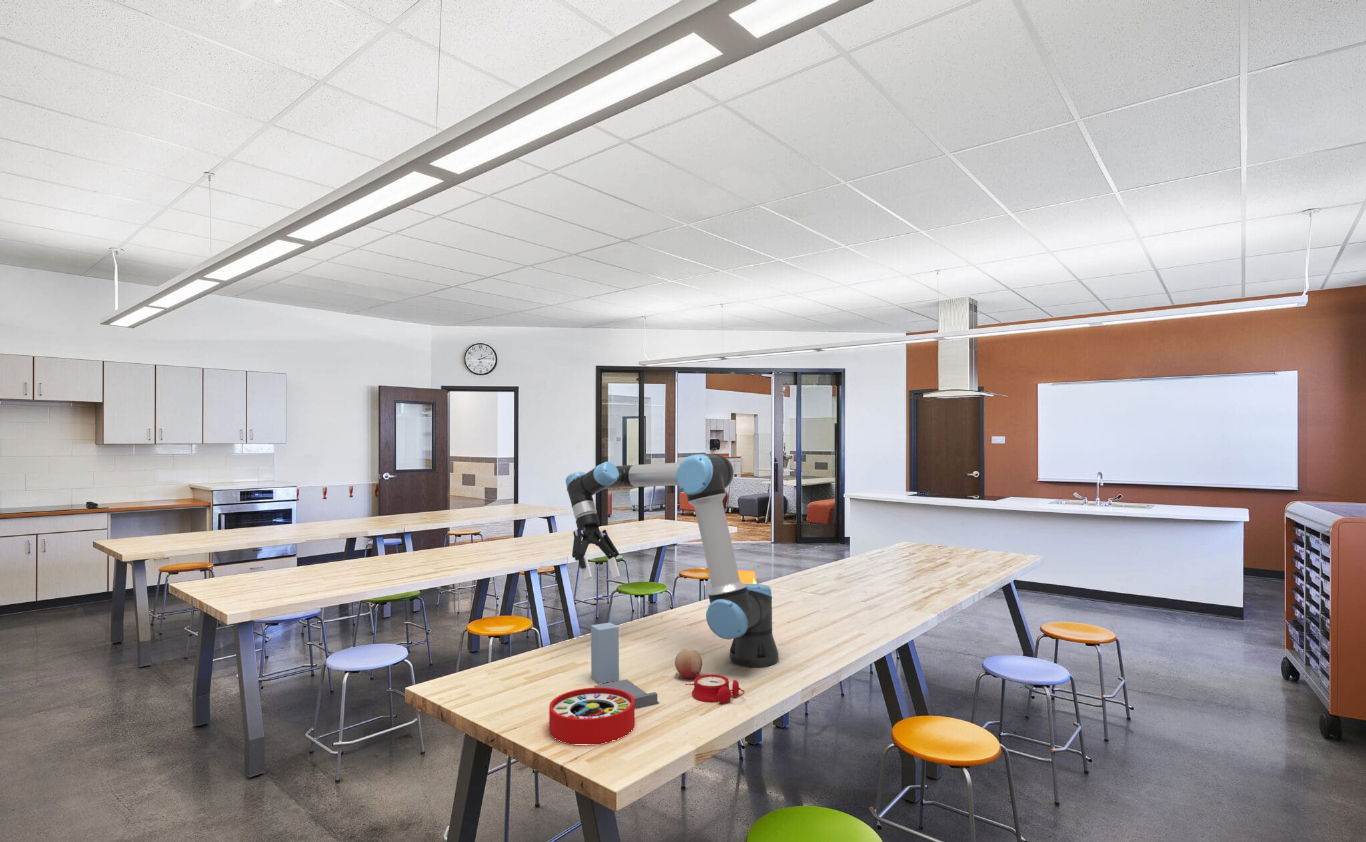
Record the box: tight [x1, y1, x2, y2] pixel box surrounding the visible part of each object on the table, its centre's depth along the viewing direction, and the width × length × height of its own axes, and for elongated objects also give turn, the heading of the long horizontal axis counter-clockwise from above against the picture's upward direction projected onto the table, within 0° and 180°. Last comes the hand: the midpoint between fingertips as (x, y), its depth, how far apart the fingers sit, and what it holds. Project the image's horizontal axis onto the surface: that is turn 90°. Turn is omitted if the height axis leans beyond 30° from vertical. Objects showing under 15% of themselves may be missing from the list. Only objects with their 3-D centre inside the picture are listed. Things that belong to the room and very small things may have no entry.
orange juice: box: [738, 569, 758, 584], centre depth 244 cm, size 8×9×20 cm
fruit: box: [674, 648, 703, 680], centre depth 189 cm, size 8×8×8 cm
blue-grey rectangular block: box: [590, 622, 620, 685], centre depth 188 cm, size 6×6×15 cm
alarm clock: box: [685, 673, 745, 705], centre depth 174 cm, size 10×6×15 cm
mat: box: [593, 679, 660, 710], centre depth 175 cm, size 20×10×2 cm, turn 29°
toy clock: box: [548, 687, 636, 745], centre depth 156 cm, size 20×6×20 cm
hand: (602, 577), depth 211 cm, fingers open, 13 cm apart
